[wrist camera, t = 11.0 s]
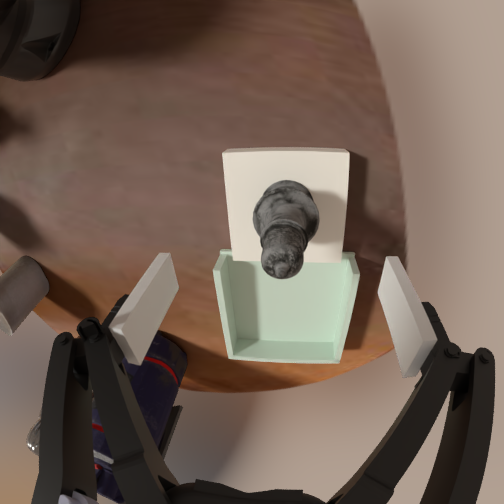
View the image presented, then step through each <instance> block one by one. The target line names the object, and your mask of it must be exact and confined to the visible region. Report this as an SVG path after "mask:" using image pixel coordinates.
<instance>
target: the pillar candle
mask: <svg viewBox="0 0 504 504" xmlns="http://www.w3.org/2000/svg"><path fill="white" fill-rule="evenodd" d="M48 292H49V283H48V280H47V278H46V277H45V275H44V273H43V271H42V269H41V267H40V266H39V265H38V263H36V261H34V260H33V259H32V258H30V257H28V256H23V257H21V258H20V259H19V260H17V261H16V262H15V263H14V264H13V265H12V266H11V267H10V268H9V269H8V270H7V271H6V272H5V273H4V274H2V275H1V276H0V329H1V330H2V331H3V332H4V333H5V334H7V335H10V336H11V335H13V333H14V332H15V330H16V329H17V328H18V327H19V325H20V324H21V323H22V322H23V321H24V319H25V318H26V317H27V316H28V315H29V313H30V312H31V311H32V310H33V309H34V308H35V307H36V305H37V304H38V303H39V302H40V301H41V300H42V299H43V298H44V296H45V295H46V294H47V293H48Z"/></svg>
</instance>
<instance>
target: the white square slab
mask: <svg viewBox="0 0 504 504" xmlns="http://www.w3.org/2000/svg"><path fill="white" fill-rule="evenodd" d="M222 155H223V166H224V177H225V187H226V198H227V208H228V218H229V228H230V238H231V247H232V257H233V261H261V254H262V250H263V249H262V247H261V243H260V237H259V235H258V234H257V232H256V230H255V228H254V224H253V211H254V208H255V206H256V203H257V202H258V201H259V199H260V198H261V197H262V196H263V193H264V192H265V190H266V189H267V188H268V187H269V186H270V185H272V184H273V183H276V182H278V181H282V180H291V181H296V182H298V183H301V184H302V185H303V186H305V187H306V188H307V189H308V190H309V192H310V193H311V195H312V198H313V201H314V203H315V204H316V206H317V209H318V211H319V218H320V222H319V227H318V230H317V232H316V234H315V236H314V237H313V238H312V239H311V240H310V241H309V242H308V246H307V248H306V250H305V252H304V262H315V263H341V258H342V249H343V240H344V231H345V220H346V209H347V195H348V179H349V156H350V153H349V152H348V151H347V150H346V149H339V148H313V147H262V148H236V149H227V150H226V151H224V152H223V153H222Z"/></svg>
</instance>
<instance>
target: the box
mask: <svg viewBox="0 0 504 504" xmlns="http://www.w3.org/2000/svg"><path fill="white" fill-rule="evenodd" d="M213 274H214V280H215V286H216V292H217V298H218V304H219V310H220V316H221V321H222V327H223V332H224V337H225V343H226V348H227V353H228V358H229V359H237V360H249V361H263V362H283V363H339V362H340V359H341V355H342V351H343V348H344V344H345V340H346V336H347V332H348V328H349V324H350V320H351V315H352V311H353V306H354V302H355V297H356V292H357V287H358V282H359V277H360V272H359V269H358V266H357V263H356V260H355V253H354V252H342V258H341V263H315V262H303V266H302V268H301V270H300V272H299V273H298V274H297V275H295V276H293V277H291V278H288V279H276V278H273V277H271V276H270V275H268V274H267V273H266V272H265V271H264V269H263V268H262V264H261V261H233V257H232V249H221V250H220V256H219V258H218V260H217V262H216V265H215V267H214V269H213Z"/></svg>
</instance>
